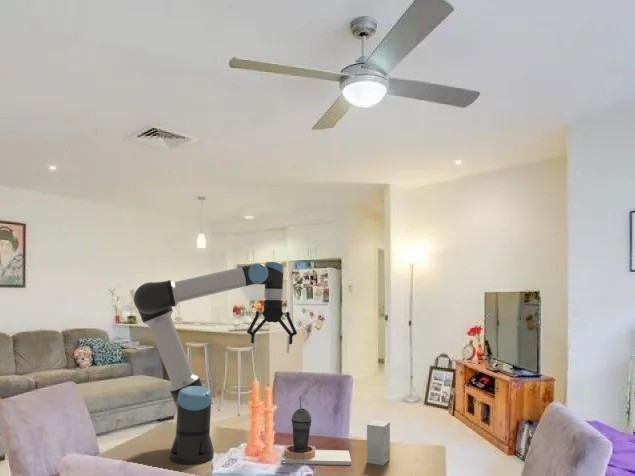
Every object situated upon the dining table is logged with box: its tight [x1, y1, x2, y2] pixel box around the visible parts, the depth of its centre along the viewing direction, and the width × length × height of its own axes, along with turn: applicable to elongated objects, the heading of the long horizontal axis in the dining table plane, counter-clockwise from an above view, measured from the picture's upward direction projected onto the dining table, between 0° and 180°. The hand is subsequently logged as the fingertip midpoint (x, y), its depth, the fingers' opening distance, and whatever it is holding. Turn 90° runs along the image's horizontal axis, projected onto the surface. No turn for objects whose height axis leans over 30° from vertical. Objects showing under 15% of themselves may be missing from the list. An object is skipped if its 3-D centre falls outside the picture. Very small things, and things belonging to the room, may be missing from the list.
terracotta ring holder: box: [283, 444, 316, 460], centre depth 173 cm, size 11×11×2 cm
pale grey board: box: [281, 449, 352, 466], centre depth 173 cm, size 24×12×1 cm, turn 90°
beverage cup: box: [291, 395, 312, 453], centre depth 175 cm, size 7×7×20 cm
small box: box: [366, 419, 391, 466], centre depth 173 cm, size 8×6×13 cm
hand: (271, 352), depth 197 cm, fingers open, 13 cm apart
